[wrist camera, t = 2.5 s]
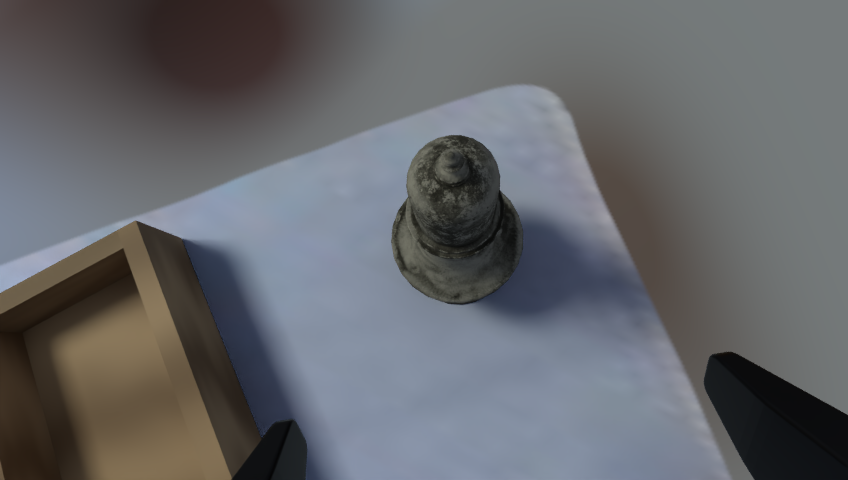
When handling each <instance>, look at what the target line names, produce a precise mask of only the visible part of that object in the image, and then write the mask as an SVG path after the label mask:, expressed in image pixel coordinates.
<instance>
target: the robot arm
mask: <svg viewBox="0 0 848 480" xmlns="http://www.w3.org/2000/svg"><path fill="white" fill-rule="evenodd" d="M704 386H705V390H706V392H707V394H708V396H709V398H710V400H711V402H712V404H713V405H714V407H715V409H716V411H717V413H718V415H719V417H720V419H721V421H722V423H723V425H724V427H725V428H726V430H727V432H728V434H729V436H730V438H731V440H732V442H733V443H734V445H735V448H736V450H737V451H738V453H739V455H740V457H741V458H742V460H743V462H744V464H745V465H746V467H747V469H748V470H749V472H750V473H751V475H752V476H753V478H754V479H755V480H848V415H847V414H845V413H843V412H841V411H840V410H838V409H836V408H834V407H832V406H831V405H829V404H827V403H825V402H823V401H821V400H820V399H818V398H816V397H814V396H812V395H811V394H809V393H807V392H805V391H803V390H802V389H800V388H798V387H796V386H794V385H792V384H791V383H789V382H787V381H785V380H783V379H781V378H780V377H778V376H776V375H774V374H772V373H771V372H769V371H767V370H765V369H763V368H762V367H760V366H758V365H756V364H754V363H753V362H751V361H749V360H747V359H745V358H743V357H742V356H739V355H738V354H736V353H733V352H724V353H717V354H712V355H711V356H710V357H709V360H708V364H707V369H706V373H705V377H704ZM306 461H307V444H306V441H305V438H304V436H303V434H302V432H301V431H300V429H299V427H298V425H297V423H296V421H295V420H293V419H288V420H281V421H277V422H275V423H274V424H273V425H272V426H271V427H270V429H269V430H268V431H267V433H266V434H265V435H264V437H263V438H262V439H261V441H260V442H259V443H258V445H257V446H256V447H255V448H254V450H253V451H252V452H251V454H250V455H249V456H248V458H247V459H246V460H245V462H244V463H243V464H242V466H241V467H240V468H239V470H238V471H237V472H236V474H235V475H234V476H233V478H232V479H231V480H305V476H306Z"/></svg>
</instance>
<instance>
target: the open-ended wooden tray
mask: <svg viewBox="0 0 848 480" xmlns="http://www.w3.org/2000/svg"><path fill="white" fill-rule="evenodd" d="M260 441H261V436H260V434H259V431H258V429H257V426H256V424H255V421H254V419H253V416H252V414H251V411H250V409H249V406H248V404H247V401H246V399H245V396H244V394H243V391H242V389H241V386H240V384H239V381H238V379H237V376H236V374H235V371H234V369H233V366H232V364H231V361H230V359H229V356H228V354H227V351H226V349H225V346H224V344H223V341H222V339H221V336H220V334H219V331H218V329H217V326H216V324H215V321H214V319H213V316H212V314H211V311H210V309H209V306H208V304H207V301H206V299H205V296H204V294H203V291H202V289H201V286H200V284H199V281H198V279H197V276H196V274H195V271H194V269H193V266H192V264H191V261H190V259H189V256H188V254H187V251H186V249H185V246H184V244H183V241H182V239H181V238H179V237H177V236H174V235H172V234H169V233H166V232H164V231H161V230H159V229H156V228H154V227H151V226H149V225H146V224H143V223H141V222H138V221H134V222H132V223H130V224H128V225H126V226H124V227H123V228H121V229H119V230H117V231H115V232H113V233H111V234H110V235H108V236H106V237H104V238H102V239H100V240H98V241H97V242H95V243H93V244H91V245H89V246H87V247H85V248H84V249H82V250H80V251H78V252H76V253H74V254H72V255H70V256H69V257H67V258H65V259H63V260H61V261H59V262H57V263H56V264H54V265H52V266H50V267H48V268H46V269H44V270H43V271H41V272H39V273H37V274H35V275H33V276H31V277H30V278H28V279H26V280H24V281H22V282H20V283H18V284H17V285H15V286H13V287H11V288H9V289H7V290H5V291H3V292H2V293H0V480H231V479H232V478H233V476H234V475H235V474H236V472H237V471H238V470H239V468H240V467H241V466H242V464H243V463H244V462H245V460H246V459H247V458H248V456H249V455H250V454H251V452H252V451H253V450H254V448H255V447H256V446H257V445H258V443H259V442H260Z"/></svg>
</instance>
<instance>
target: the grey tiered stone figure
mask: <svg viewBox="0 0 848 480" xmlns="http://www.w3.org/2000/svg"><path fill="white" fill-rule="evenodd" d="M406 187H407V192H408V198H407V199H406V201H405V202H404V203H403V205H402V206H401V208H400V209H399V210H398V213H397V216H396V219H395V221H394V224H393V229H392V240H391V243H392V249H393V254H394V259H395V261H396V263H397V265H398V267H399V269H400V271H401V274H402V275H403V276H404V277H405V278H406V279H407V280H408V282H409V283H410V284H411V285H412V286H413V287H414V288H416V289H417V290H419V291H420V292H422V293H423V294H425V295H426V296H428V297H431V298H434V299H436V300H439V301H442V302H445V303H448V304H466V303H471V302H475V301H477V300H479V299H481V298H483V297H485V296H487V295H489V294H491V293H493V292H495V291H496V290H498V289H499V288H500V287H501V286H502V285H503V284H504V283H505V282H506V281H508V279H509V278H510V276H511V275H512V273H513V272H514V270H515V268H516V267H517V265H518V263H519V259H520V256H521V253H522V249H523V229H522V226H521V222H520V218H519V215H518V213H517V211H516V210H515V208H514V206H513V204H512V203H511V201H510V200H509V199H508V198H507V197H506V196H505V195H504V194H503V193H502V192H501V191H500V174H499V170H498V166H497V163H496V161H495V159H494V157H493V155H492V154H491V152H490V151H489V150H488V149H487V148H486V147H485V146H484V145H483V144H482V143H480V142H478V141H476V140H475V139H473V138H469V137H465V136H462V135H449V136H445V137H440V138H437V139H435V140H433V141H431V142H429V143H428V144H426V145H425V146H424V147H423V148H422V149H421V150H419V152H418V153H417V154H416V156H415V157H414V159H413V160H412V162H411V165H410V168H409V170H408V174H407V184H406Z"/></svg>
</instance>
